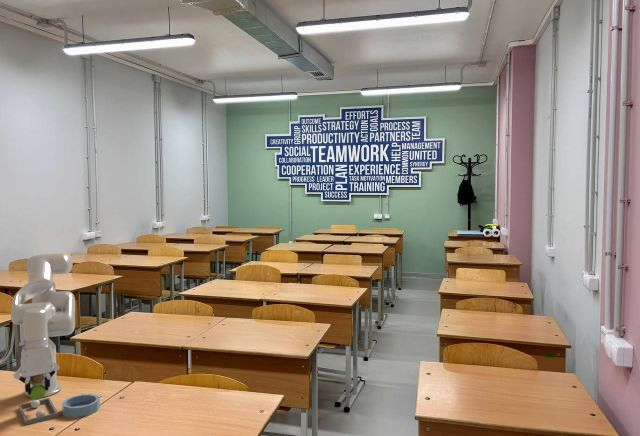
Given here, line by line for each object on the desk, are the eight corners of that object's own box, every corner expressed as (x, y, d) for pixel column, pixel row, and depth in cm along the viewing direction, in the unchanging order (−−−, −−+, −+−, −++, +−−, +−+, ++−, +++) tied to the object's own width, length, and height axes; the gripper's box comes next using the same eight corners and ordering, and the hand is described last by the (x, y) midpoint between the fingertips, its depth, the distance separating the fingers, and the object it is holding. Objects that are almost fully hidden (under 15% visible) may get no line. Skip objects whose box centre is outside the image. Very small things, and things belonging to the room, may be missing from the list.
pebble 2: (35, 417, 179) (34, 409, 179) (44, 415, 181) (44, 407, 181) (36, 421, 177) (36, 412, 177) (46, 418, 179) (46, 410, 179)
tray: (18, 408, 187) (18, 404, 187) (49, 401, 193) (49, 397, 193) (25, 425, 174) (25, 420, 174) (58, 417, 180) (58, 412, 180)
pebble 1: (30, 407, 188) (29, 399, 188) (39, 405, 190) (39, 397, 190) (31, 410, 186) (31, 402, 186) (40, 407, 188) (40, 400, 187)
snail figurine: (30, 395, 187) (29, 364, 185) (48, 395, 187) (47, 364, 186) (23, 402, 181) (21, 370, 180) (41, 402, 182) (40, 370, 180)
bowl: (59, 408, 187) (59, 399, 187) (94, 400, 194) (94, 391, 194) (67, 420, 178) (66, 410, 177) (103, 411, 185) (102, 402, 185)
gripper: (9, 350, 174) (11, 401, 176) (64, 341, 185) (65, 389, 186) (7, 344, 180) (9, 393, 182) (60, 335, 190) (61, 382, 192)
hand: (37, 390), depth 184 cm, fingers closed on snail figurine, 5 cm apart
